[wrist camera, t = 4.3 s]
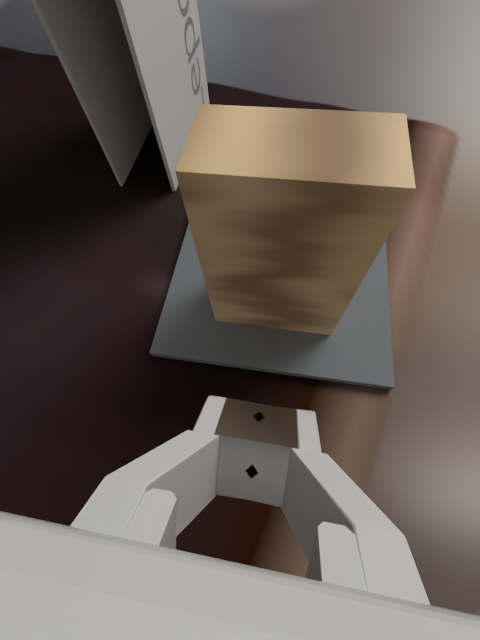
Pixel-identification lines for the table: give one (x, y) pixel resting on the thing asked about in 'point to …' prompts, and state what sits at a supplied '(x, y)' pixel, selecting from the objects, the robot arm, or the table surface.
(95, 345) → the table surface
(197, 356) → the rubber mat
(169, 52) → the brochure
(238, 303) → the wood block
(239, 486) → the robot arm
